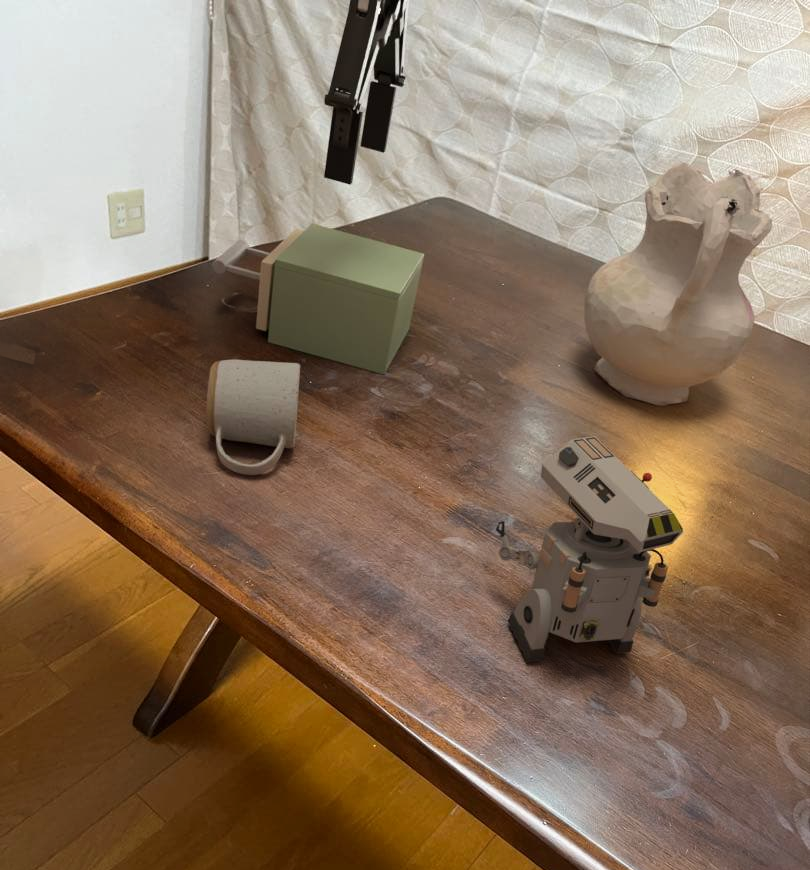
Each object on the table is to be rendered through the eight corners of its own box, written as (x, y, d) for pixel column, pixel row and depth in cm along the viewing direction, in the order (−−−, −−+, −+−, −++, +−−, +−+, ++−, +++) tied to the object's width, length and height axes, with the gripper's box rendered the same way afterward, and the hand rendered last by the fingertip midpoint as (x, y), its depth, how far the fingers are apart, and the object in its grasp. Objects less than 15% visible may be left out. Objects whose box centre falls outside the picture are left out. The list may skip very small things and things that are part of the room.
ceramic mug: (211, 409, 83) (214, 338, 79) (296, 419, 85) (304, 349, 80) (199, 474, 75) (202, 399, 71) (293, 484, 77) (302, 411, 72)
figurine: (576, 570, 75) (636, 424, 65) (636, 670, 66) (716, 519, 57) (479, 575, 72) (528, 423, 62) (530, 680, 64) (595, 523, 54)
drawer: (202, 313, 96) (204, 245, 92) (239, 278, 105) (244, 214, 100) (362, 358, 95) (374, 292, 90) (387, 318, 104) (398, 256, 99)
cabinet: (267, 342, 96) (275, 259, 90) (302, 300, 106) (311, 223, 100) (384, 374, 95) (400, 293, 89) (409, 329, 105) (424, 253, 99)
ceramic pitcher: (734, 452, 99) (860, 243, 84) (575, 413, 96) (676, 189, 80) (686, 363, 116) (784, 176, 100) (549, 328, 112) (629, 129, 97)
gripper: (403, -68, 67) (359, 206, 80) (459, -75, 86) (416, 146, 99) (311, -92, 67) (282, 184, 80) (387, -94, 87) (354, 129, 100)
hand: (356, 164), depth 90 cm, fingers open, 13 cm apart
